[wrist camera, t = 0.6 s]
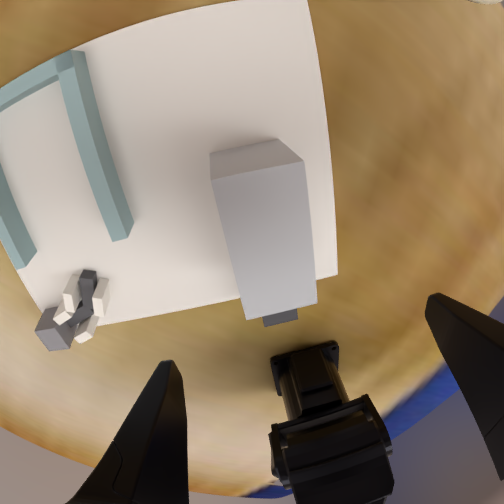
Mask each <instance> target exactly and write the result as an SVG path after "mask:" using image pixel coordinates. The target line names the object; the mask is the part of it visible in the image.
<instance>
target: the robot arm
mask: <svg viewBox="0 0 504 504" xmlns="http://www.w3.org/2000/svg"><path fill="white" fill-rule="evenodd" d="M425 318H426V320H427V322H428V325H429V327H430V329H431V331H432V333H433V336H434V338H435V340H436V343H437V345H438V347H439V349H440V352H441V353H442V355H443V357H444V359H445V361H446V363H447V365H448V366H449V368H450V370H451V372H452V374H453V376H454V378H455V380H456V381H457V383H458V385H459V387H460V389H461V391H462V393H463V395H464V397H465V399H466V401H467V403H468V405H469V408H470V410H471V412H472V414H473V416H474V418H475V420H476V422H477V425H478V427H479V429H480V431H481V434H482V436H483V438H484V441H485V443H486V445H487V448H488V450H489V453H490V455H491V457H492V460H493V462H494V465H495V468H496V470H497V473H498V476H499V478H500V480H501V481H502V480H503V479H504V324H503V323H501V322H499V321H497V320H495V319H493V318H491V317H489V316H487V315H485V314H483V313H481V312H479V311H477V310H475V309H473V308H471V307H469V306H467V305H464V304H462V303H460V302H458V301H456V300H454V299H452V298H450V297H448V296H446V295H444V294H441V293H435V294H432V295H430V296H429V297H428V300H427V305H426V309H425ZM338 361H339V345H338V343H337V342H331V343H327V344H324V345H320V346H316V347H313V348H309V349H305V350H301V351H297V352H293V353H289V354H285V355H281V356H277V357H273V358H271V360H270V364H271V368H272V372H273V377H274V381H275V385H276V390H277V394H278V396H283V400H284V404H285V408H286V413H287V417H288V421H286V422H283V423H279V424H277V423H275V424H272V425H271V428H272V432H271V433H269V434H268V435H269V440H270V445H271V471H272V475H273V476H275V477H277V478H279V480H280V482H281V483H282V484H283V486H284V488H285V489H286V490H287V489H291V488H292V491H293V494H294V497H295V500H296V504H385V501H386V498H387V496H389V495H391V494H392V491H393V486H394V479H393V474H392V471H391V467H390V463H389V460H388V457H389V456H391V455H392V444H391V440H390V437H389V434H388V431H387V429H386V426H385V424H384V422H383V421H382V419H381V417H380V415H379V414H378V412H377V410H376V408H375V407H374V405H373V403H372V401H371V400H370V398H369V396H368V394H365V395H362V396H361V397H360V398H357V399H354V400H352V401H350V400H349V398H348V395H347V393H346V390H345V388H344V385H343V383H342V380H341V378H340V375H339V373H338ZM113 440H114V441H112V442H111V444H110V446H109V447H108V449H107V451H106V452H105V454H104V455H103V457H102V459H101V460H100V462H99V463H98V465H97V466H96V467H95V469H94V470H93V472H92V473H91V474H90V476H89V477H88V478H87V480H86V481H85V482H84V483H83V485H82V486H81V487H80V489H79V490H78V491H77V493H76V494H75V495H74V496H73V498H71V499H70V500H69V501H68V502H67V503H65V504H189V493H188V492H189V491H188V456H187V415H186V406H185V398H184V389H183V380H182V376H181V373H180V372H179V370H178V368H177V366H176V364H175V363H174V361H173V360H165V361H161V362H160V363H159V364H158V366H157V368H156V369H155V371H154V373H153V374H152V376H151V378H150V379H149V381H148V382H147V384H146V386H145V387H144V389H143V391H142V392H141V394H140V396H139V397H138V399H137V401H136V402H135V404H134V406H133V407H132V409H131V411H130V412H129V414H128V416H127V417H126V419H125V421H124V422H123V424H122V426H121V427H120V429H119V431H118V432H117V434H116V436H115V437H114V439H113Z"/></svg>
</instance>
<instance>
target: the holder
mask: <svg viewBox="0 0 504 504" xmlns="http://www.w3.org/2000/svg"><path fill="white" fill-rule="evenodd" d="M58 80H59V82H60V86H61V90H62V94H63V98H64V102H65V106H66V110H67V114H68V117H69V121H70V124H71V128H72V131H73V134H74V138H75V141H76V144H77V148H78V151H79V154H80V157H81V160H82V163H83V166H84V169H85V172H86V175H87V178H88V180H89V183H90V186H91V189H92V192H93V194H94V197H95V200H96V202H97V205H98V208H99V210H100V213H101V215H102V218H103V220H104V223H105V225H106V228H107V230H108V233H109V235H110V237H111V240H112V242H115V241H119V240H122V239H126V238H128V236H129V234H130V232H131V229H132V227H133V225H134V220H133V217H132V215H131V212H130V209H129V206H128V204H127V201H126V198H125V195H124V192H123V189H122V186H121V183H120V180H119V177H118V174H117V171H116V168H115V165H114V162H113V159H112V155H111V152H110V149H109V146H108V142H107V139H106V136H105V132H104V129H103V125H102V122H101V118H100V114H99V111H98V107H97V103H96V99H95V95H94V91H93V87H92V83H91V79H90V75H89V70H88V66H87V61H86V57H85V52H84V51H78V50H71V49H70V50H68V51H66V52H64V53H62V54H60V55H58V56H56V57H54V58H52V59H50V60H48V61H46V62H44V63H42V64H40V65H39V66H37V67H35V68H33V69H31V70H30V71H28V72H26V73H24V74H23V75H21V76H19V77H18V78H16V79H14V80H13V81H11V82H10V83H8V84H6V85H5V86H3V87H2V88H0V112H2V111H3V110H5V109H6V108H8V107H10V106H11V105H13V104H15V103H16V102H18V101H20V100H22V99H23V98H25V97H27V96H29V95H31V94H32V93H34V92H36V91H38V90H40V89H42V88H44V87H46V86H48V85H50V84H52V83H54V82H56V81H58ZM0 239H1V241H2V244H3V246H4V248H5V249H6V251H7V253H8V255H9V257H10V259H11V261H12V263H13V265H14V267H15V268H16V270H18V269H21V268H24V267H26V266H27V265H28V263H29V262H30V261H31V259H32V258H33V257H34V255H35V254H36V253H37V249H36V247H35V245H34V243H33V241H32V239H31V237H30V235H29V233H28V231H27V229H26V226H25V224H24V222H23V220H22V217H21V215H20V213H19V211H18V208H17V206H16V203H15V201H14V198H13V196H12V193H11V191H10V188H9V186H8V183H7V180H6V178H5V175H4V172H3V169H2V166H1V163H0Z"/></svg>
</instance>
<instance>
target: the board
mask: <svg viewBox="0 0 504 504" xmlns="http://www.w3.org/2000/svg"><path fill="white" fill-rule="evenodd" d="M71 50H78V51H84V52H85V57H86V61H87V66H88V70H89V75H90V79H91V83H92V87H93V91H94V95H95V99H96V103H97V107H98V111H99V114H100V118H101V122H102V125H103V129H104V132H105V136H106V139H107V142H108V146H109V149H110V152H111V155H112V159H113V162H114V165H115V168H116V171H117V174H118V177H119V180H120V183H121V186H122V189H123V192H124V195H125V198H126V201H127V204H128V206H129V209H130V212H131V215H132V217H133V220H134V225H133V227H132V229H131V232H130V234H129V236H128V238H126V239H122V240H119V241H115V242H112V240H111V237H110V235H109V233H108V230H107V228H106V225H105V223H104V220H103V218H102V215H101V213H100V210H99V208H98V205H97V202H96V200H95V197H94V194H93V192H92V189H91V186H90V183H89V180H88V178H87V175H86V172H85V169H84V166H83V163H82V160H81V157H80V154H79V151H78V148H77V144H76V141H75V138H74V134H73V131H72V128H71V124H70V121H69V117H68V114H67V110H66V106H65V102H64V98H63V94H62V90H61V86H60V82H59V80H58V81H56V82H54V83H52V84H50V85H48V86H46V87H44V88H42V89H40V90H38V91H36V92H34V93H32V94H31V95H29V96H27V97H25V98H23V99H22V100H20V101H18V102H16V103H15V104H13V105H11V106H10V107H8V108H6V109H5V110H3V111H2V112H0V163H1V166H2V169H3V172H4V175H5V178H6V180H7V183H8V186H9V188H10V191H11V193H12V196H13V198H14V201H15V203H16V206H17V208H18V211H19V213H20V215H21V217H22V220H23V222H24V224H25V226H26V229H27V231H28V233H29V235H30V237H31V239H32V241H33V243H34V245H35V247H36V249H37V253H36V254H35V255H34V257H33V258H32V259H31V261H30V262H29V263H28V265H27V266H26V267H24V268H21V269H18V270H16V271H17V273H18V274H19V276H20V278H21V280H22V281H23V283H24V285H25V287H26V288H27V290H28V292H29V293H30V295H31V297H32V298H33V300H34V301H35V303H36V305H37V306H38V308H39V309H40V311H41V312H42V314H43V312H44V310H45V309H48V308H53V307H58V306H59V304H60V302H61V300H62V299H63V294H62V293H63V291H64V289H65V287H66V285H67V283H68V281H69V280H70V278H71V276H72V274H74V275H81V273H82V271H83V269H84V270H92V271H96V274H97V284H98V282H99V279H100V278H104V279H109V281H110V295H111V298H110V301H109V304H108V307H107V310H106V313H105V316H104V317H99V320H98V323H97V326H100V325H106V324H112V323H117V322H123V321H128V320H134V319H139V318H145V317H150V316H155V315H160V314H165V313H170V312H175V311H180V310H185V309H190V308H195V307H200V306H205V305H209V304H214V303H219V302H224V301H228V300H233V299H237V298H240V294H239V290H238V286H237V283H236V279H235V275H234V271H233V267H232V264H231V260H230V256H229V252H228V248H227V244H226V240H225V236H224V232H223V228H222V224H221V220H220V216H219V212H218V208H217V204H216V200H215V196H214V192H213V188H212V184H211V179H210V157H209V153H213V152H217V151H222V150H226V149H231V148H235V147H240V146H245V145H250V144H255V143H260V142H265V141H271V140H276V139H280V140H281V141H282V142H283V143H284V144H285V145H287V146H288V147H289V148H290V149H291V150H292V151H293V152H295V153H296V154H297V155H298V156H299V157H300V158H301V159H303V160H304V163H305V171H306V179H307V188H308V197H309V206H310V216H311V227H312V238H313V249H314V261H315V275H316V280H318V279H322V278H326V277H330V276H334V275H337V242H336V220H335V203H334V189H333V176H332V164H331V154H330V144H329V134H328V125H327V117H326V109H325V101H324V94H323V87H322V80H321V73H320V67H319V61H318V55H317V49H316V43H315V37H314V32H313V27H312V22H311V17H310V12H309V7H308V2H307V0H239V1H232V2H225V3H219V4H214V5H208V6H203V7H198V8H194V9H189V10H185V11H180V12H176V13H172V14H169V15H165V16H161V17H158V18H154V19H151V20H147V21H144V22H141V23H138V24H135V25H132V26H129V27H126V28H123V29H120V30H117V31H114V32H112V33H109V34H106V35H104V36H101V37H99V38H96V39H94V40H91V41H89V42H87V43H84V44H82V45H80V46H78V47H75V48H73V49H71ZM0 240H1V239H0ZM1 242H2V241H1ZM5 250H6V249H5ZM6 252H7V251H6ZM7 254H8V253H7ZM8 256H9V255H8ZM9 258H10V257H9ZM10 260H11V259H10ZM11 262H12V261H11ZM12 264H13V263H12ZM15 269H16V268H15ZM81 300H82V297H81ZM81 300H80V301H81ZM77 325H79V323H78V324H77Z"/></svg>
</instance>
